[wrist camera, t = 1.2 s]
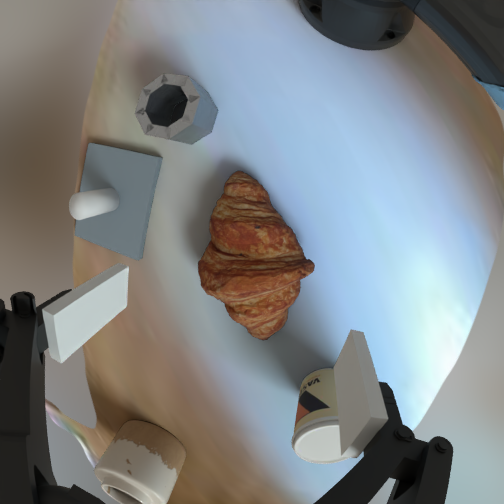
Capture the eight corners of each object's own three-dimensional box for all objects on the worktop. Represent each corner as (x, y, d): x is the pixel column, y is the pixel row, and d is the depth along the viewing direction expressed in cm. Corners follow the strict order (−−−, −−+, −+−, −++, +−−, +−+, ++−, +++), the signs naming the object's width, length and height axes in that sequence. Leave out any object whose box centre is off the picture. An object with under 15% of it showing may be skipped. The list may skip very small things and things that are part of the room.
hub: (172, 86, 32) (147, 71, 26) (223, 95, 32) (206, 78, 25) (157, 137, 35) (129, 131, 28) (207, 148, 34) (186, 143, 27)
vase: (194, 442, 49) (168, 506, 33) (178, 469, 53) (155, 522, 37) (126, 408, 49) (86, 464, 33) (120, 440, 54) (89, 489, 38)
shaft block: (93, 143, 36) (55, 141, 28) (162, 157, 35) (129, 155, 27) (79, 233, 40) (43, 246, 32) (142, 258, 39) (109, 277, 31)
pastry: (170, 257, 39) (142, 278, 31) (241, 165, 34) (225, 164, 27) (265, 336, 40) (258, 371, 32) (345, 256, 35) (358, 279, 28)
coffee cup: (312, 355, 39) (314, 415, 28) (366, 373, 39) (381, 431, 28) (284, 397, 42) (278, 456, 31) (336, 413, 42) (341, 469, 30)
